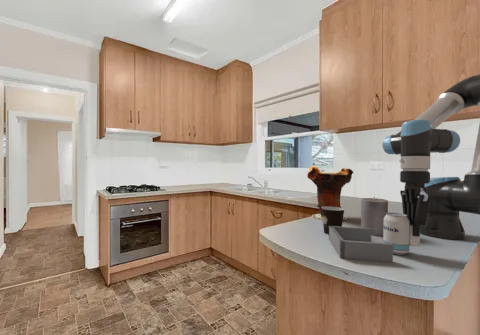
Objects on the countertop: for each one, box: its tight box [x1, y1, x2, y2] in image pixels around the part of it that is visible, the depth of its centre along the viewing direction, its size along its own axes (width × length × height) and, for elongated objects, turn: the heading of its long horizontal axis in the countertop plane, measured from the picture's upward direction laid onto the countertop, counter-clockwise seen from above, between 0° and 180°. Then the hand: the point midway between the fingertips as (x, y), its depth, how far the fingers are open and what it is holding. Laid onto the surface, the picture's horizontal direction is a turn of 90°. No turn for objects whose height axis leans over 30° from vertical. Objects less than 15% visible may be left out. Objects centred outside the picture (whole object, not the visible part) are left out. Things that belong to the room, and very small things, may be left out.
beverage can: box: [382, 212, 410, 256], centre depth 75 cm, size 7×7×12 cm
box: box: [328, 226, 394, 263], centre depth 77 cm, size 14×18×5 cm
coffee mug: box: [321, 207, 345, 235], centre depth 98 cm, size 12×9×10 cm
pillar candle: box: [360, 196, 389, 237], centre depth 98 cm, size 10×10×15 cm
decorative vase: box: [307, 165, 354, 221], centre depth 126 cm, size 21×23×28 cm
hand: (413, 245), depth 74 cm, fingers closed
